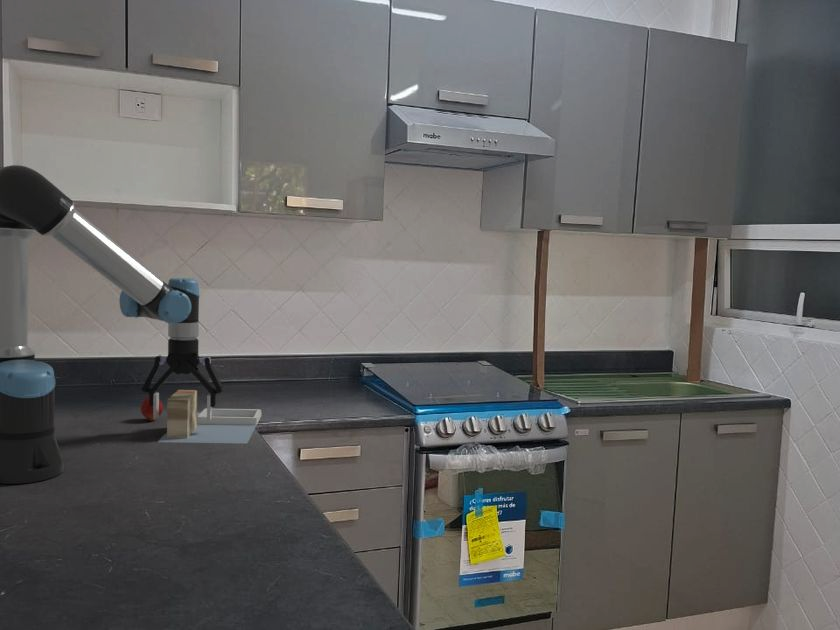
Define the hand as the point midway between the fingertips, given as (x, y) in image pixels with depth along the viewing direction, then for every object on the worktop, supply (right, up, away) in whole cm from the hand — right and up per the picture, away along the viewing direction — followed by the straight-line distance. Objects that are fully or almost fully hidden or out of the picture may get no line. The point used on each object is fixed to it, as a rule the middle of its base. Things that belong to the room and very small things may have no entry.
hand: (182, 418), depth 198 cm
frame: (+8, -3, +16) cm, 18 cm away
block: (0, -4, 0) cm, 4 cm away
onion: (-12, -3, +12) cm, 18 cm away
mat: (+6, -4, +8) cm, 11 cm away
